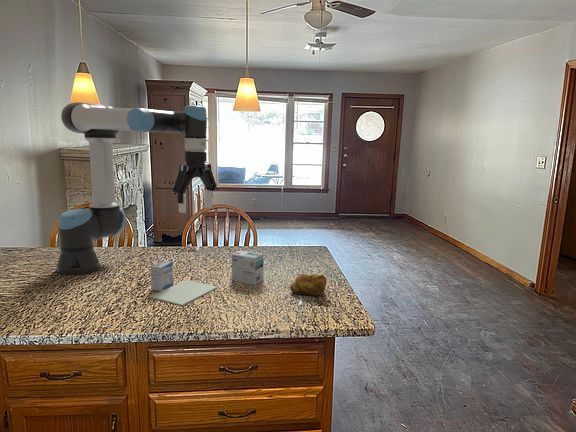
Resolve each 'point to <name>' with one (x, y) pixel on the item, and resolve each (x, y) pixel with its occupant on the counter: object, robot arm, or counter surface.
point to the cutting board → (183, 292)
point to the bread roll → (309, 284)
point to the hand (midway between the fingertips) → (195, 210)
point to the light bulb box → (247, 267)
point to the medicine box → (161, 275)
